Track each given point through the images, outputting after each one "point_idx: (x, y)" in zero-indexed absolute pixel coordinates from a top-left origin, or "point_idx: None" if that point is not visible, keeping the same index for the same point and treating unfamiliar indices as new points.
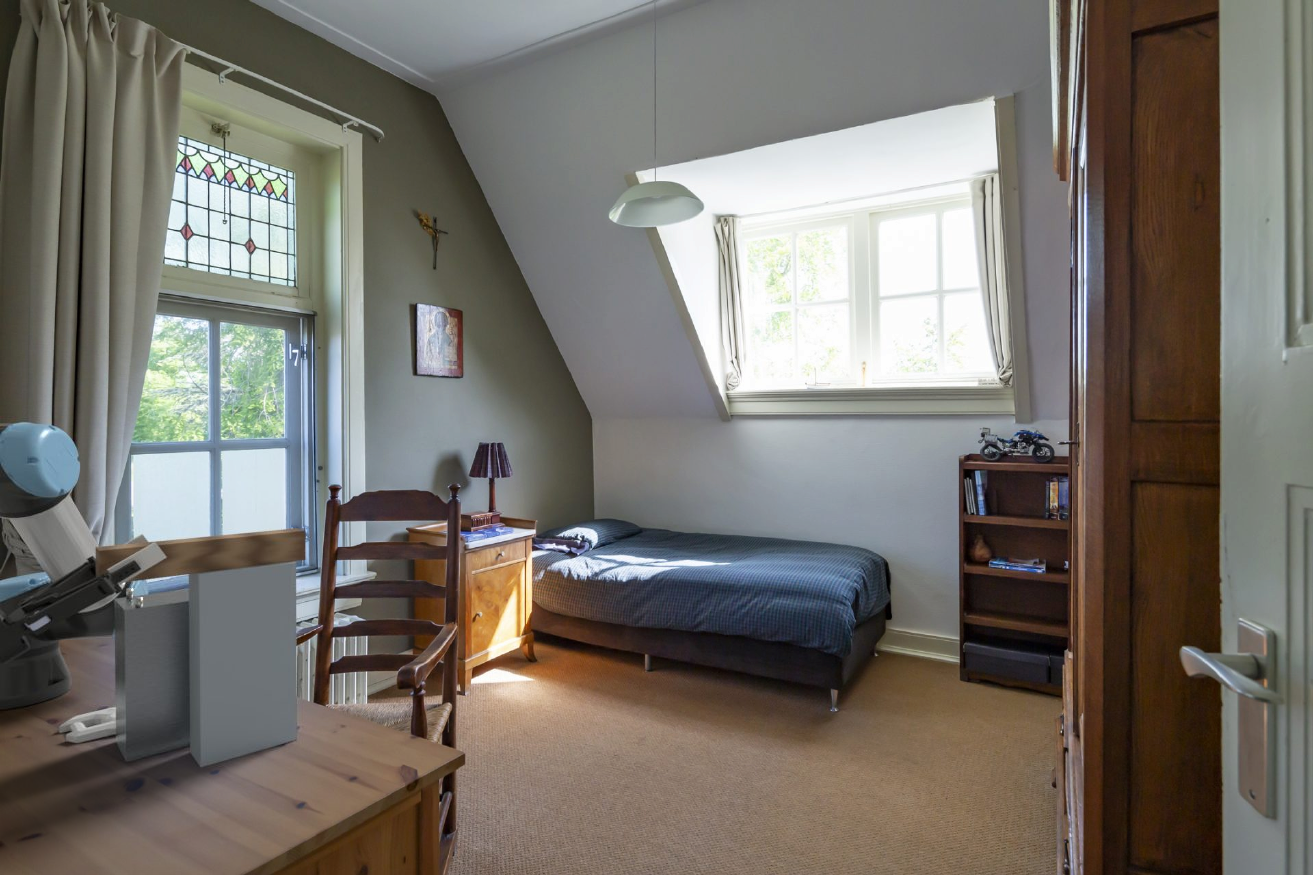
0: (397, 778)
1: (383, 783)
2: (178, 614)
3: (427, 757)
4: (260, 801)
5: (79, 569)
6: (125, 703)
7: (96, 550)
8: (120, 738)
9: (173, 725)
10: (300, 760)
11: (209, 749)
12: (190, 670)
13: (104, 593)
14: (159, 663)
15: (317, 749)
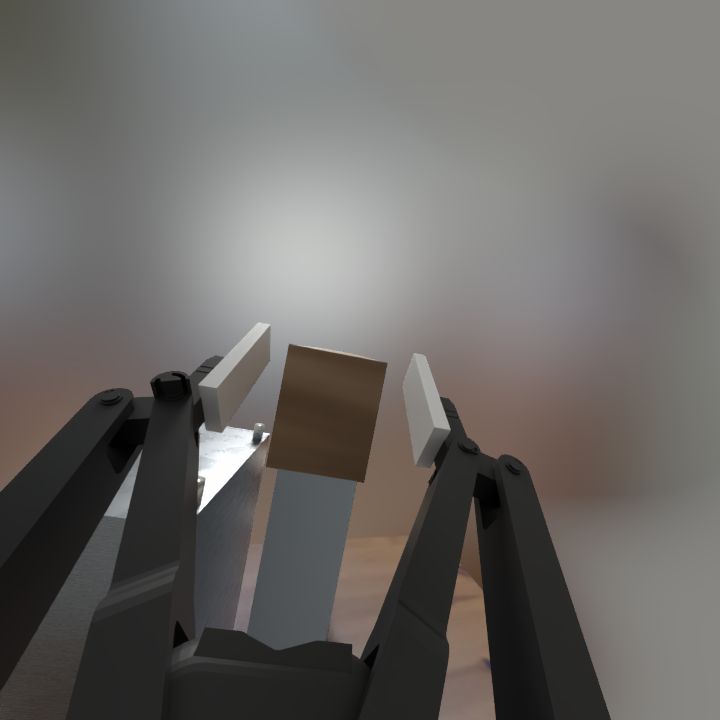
0: (460, 577)
1: (466, 588)
2: (234, 491)
3: None
4: (468, 703)
5: (113, 429)
6: None
7: (311, 357)
8: None
9: None
10: (377, 615)
11: None
12: (264, 586)
13: (494, 509)
14: (200, 610)
15: (361, 591)
